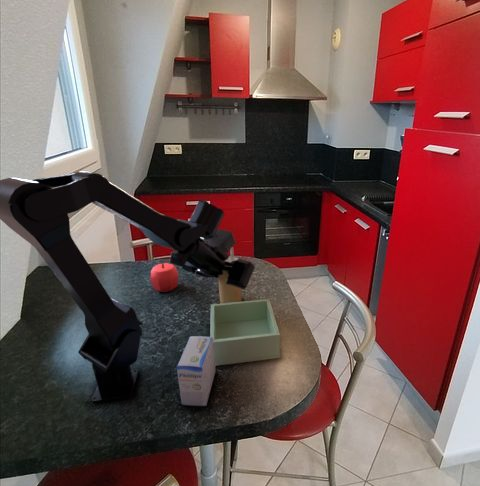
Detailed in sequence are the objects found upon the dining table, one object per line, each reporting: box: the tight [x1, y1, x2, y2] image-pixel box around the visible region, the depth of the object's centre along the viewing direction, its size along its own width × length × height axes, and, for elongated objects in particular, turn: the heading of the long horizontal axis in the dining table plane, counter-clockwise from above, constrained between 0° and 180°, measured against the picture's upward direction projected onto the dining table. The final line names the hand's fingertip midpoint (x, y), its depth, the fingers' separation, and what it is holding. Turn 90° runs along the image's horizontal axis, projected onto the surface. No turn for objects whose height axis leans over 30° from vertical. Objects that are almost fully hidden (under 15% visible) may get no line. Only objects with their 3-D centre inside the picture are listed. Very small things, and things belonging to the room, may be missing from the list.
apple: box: [150, 262, 179, 293], centre depth 91 cm, size 8×8×8 cm
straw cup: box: [217, 247, 242, 304], centre depth 82 cm, size 6×6×15 cm
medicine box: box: [176, 335, 216, 407], centre depth 57 cm, size 8×4×9 cm, turn 178°
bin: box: [209, 298, 281, 367], centre depth 70 cm, size 14×14×6 cm
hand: (233, 278), depth 84 cm, fingers closed on straw cup, 5 cm apart
